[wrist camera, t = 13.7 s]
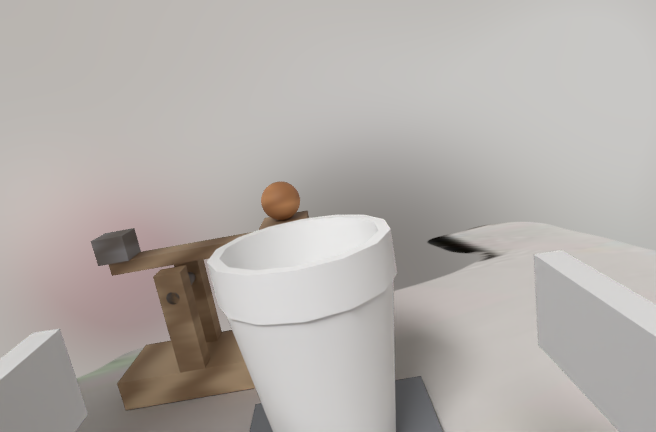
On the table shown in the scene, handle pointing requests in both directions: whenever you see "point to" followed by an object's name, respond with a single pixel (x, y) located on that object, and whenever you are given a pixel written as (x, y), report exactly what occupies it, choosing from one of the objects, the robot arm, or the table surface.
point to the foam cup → (315, 320)
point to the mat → (410, 404)
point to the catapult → (187, 314)
